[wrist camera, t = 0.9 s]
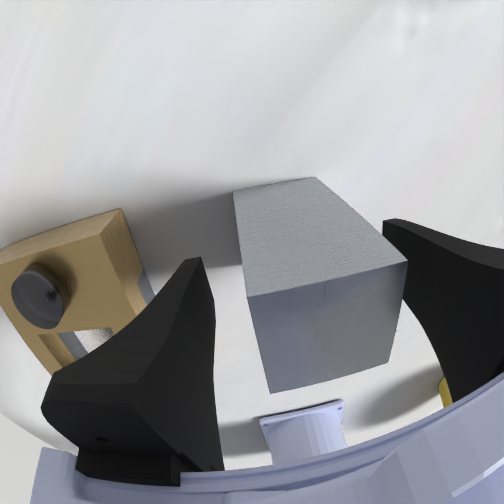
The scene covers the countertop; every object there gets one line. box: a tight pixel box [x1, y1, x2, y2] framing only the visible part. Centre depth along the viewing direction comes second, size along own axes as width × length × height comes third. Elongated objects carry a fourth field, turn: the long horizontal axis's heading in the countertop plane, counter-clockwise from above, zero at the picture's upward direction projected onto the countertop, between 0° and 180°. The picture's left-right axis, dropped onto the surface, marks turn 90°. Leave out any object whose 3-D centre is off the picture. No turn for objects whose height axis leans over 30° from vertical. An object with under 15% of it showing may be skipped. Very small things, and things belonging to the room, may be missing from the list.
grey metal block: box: [233, 177, 408, 394], centre depth 11 cm, size 4×4×8 cm
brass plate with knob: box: [0, 208, 155, 376], centre depth 15 cm, size 15×9×4 cm, turn 10°
